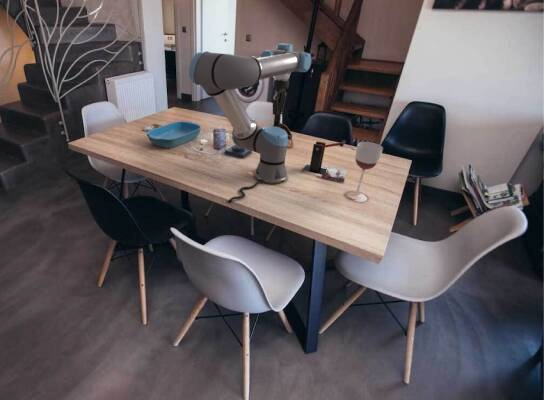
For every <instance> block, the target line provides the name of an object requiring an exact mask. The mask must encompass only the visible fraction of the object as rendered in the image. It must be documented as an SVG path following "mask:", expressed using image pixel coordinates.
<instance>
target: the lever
mask: <svg viewBox="0 0 544 400" xmlns="http://www.w3.org/2000/svg"><path fill="white" fill-rule="evenodd" d="M346 142H347V141H346V140H345V139H343V140H342V141H341V142H334V143H329V144H326V145H323V148H325V149H326V148H331V147H338V146H339V147H343V146H344V145H345V144H346ZM318 145H322V144H318Z"/></svg>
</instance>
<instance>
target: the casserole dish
mask: <svg viewBox="0 0 544 400" xmlns="http://www.w3.org/2000/svg"><path fill="white" fill-rule="evenodd" d="M201 129H202V125H200V124H198V123H197V122H193V121H185V120H182V121H181V120H178V121H173V122H170V123H167V124H164V125H161V126H158V127H155V128H152V129H149V130H147V131H146V136H147V138H148V140H149V142H150V143H151V144H153V145H154V146H157V147H161V148H164V149H173V148H176V147H179V146H181V145H184V144H185V143H188V142H191V141H193V140H194V139H196V138H198V137H199V135H200V134H201Z"/></svg>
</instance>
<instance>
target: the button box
mask: <svg viewBox="0 0 544 400" xmlns="http://www.w3.org/2000/svg"><path fill="white" fill-rule="evenodd" d="M252 153H253V151H250V150H247V149H243V148H235V144H233V145H231V146H229V147H228V148H226V149H224V155H227V156H231V157H236V158H240V159H246V157H248V156H249V155H251V154H252Z"/></svg>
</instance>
